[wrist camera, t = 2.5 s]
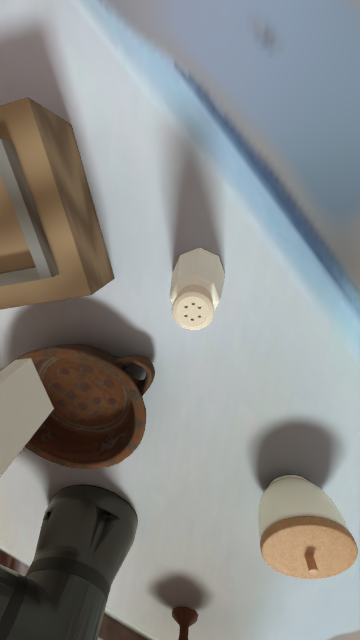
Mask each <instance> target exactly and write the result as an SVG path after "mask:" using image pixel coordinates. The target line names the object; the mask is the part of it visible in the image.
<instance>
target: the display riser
mask: <svg viewBox="0 0 360 640" xmlns="http://www.w3.org/2000/svg"><path fill="white" fill-rule="evenodd" d="M113 279H114V276H113V272H112V268H111V265H110V261H109V258H108V254H107V251H106V247H105V244H104V240H103V236H102V233H101V229H100V226H99V222H98V219H97V215H96V212H95V208H94V204H93V201H92V197H91V194H90V190H89V187H88V183H87V179H86V176H85V172H84V169H83V165H82V162H81V158H80V155H79V151H78V147H77V144H76V140H75V137H74V133H73V130H72V126H71V124H69V123H68V122H66V121H65V120H63V119H61V118H60V117H58V116H57V115H55V114H54V113H52V112H50V111H49V110H47V109H46V108H44V107H42V106H41V105H39V104H38V103H36V102H34V101H33V100H31V99H30V98H25V99H22V100H18V101H15V102H12V103H8V104H5V105H2V106H0V309H6V308H13V307H19V306H25V305H31V304H38V303H44V302H50V301H56V300H63V299H69V298H75V297H82V296H88V295H92V294H93V293H95V292H96V291H98V290H99V289H100V288H102V287H103V286H105V285H106V284H107V283H109V282H110V281H112V280H113Z"/></svg>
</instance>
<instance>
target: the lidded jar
mask: <svg viewBox="0 0 360 640" xmlns="http://www.w3.org/2000/svg"><path fill="white" fill-rule="evenodd" d="M258 526H259V534H260V547H261V553H262V556H263V558H264V560H265V561H266V563H267V564H268V565H269V566H270V567H272V568H273V569H275V570H276V571H278V572H280V573H282V574H285V575H288V576H292V577H296V578H305V579H317V578H325V577H330V576H333V575H336V574H339V573H341V572H343V571H345V570H347V569H348V568H349V567H350V566H351V565H352V564H353V563H354V562H355V560H356V558H357V554H358V549H357V545H356V543H355V540H354V538H353V536H352V535H351V533H350V532H349V530H348V527H347V525H346V523H345V521H344V519H343V517H342V515H341V514H340V512H339V510H338V508H337V507H336V505H335V504H334V502H333V501H332V500H331V498H330V497H329V496H328V495H327V494H326V493H325V492H324V491H323V490H322V489H320V488H319V487H318V486H316V485H315V484H313V483H311V482H309V481H308V480H307V479H305V478H303V477H301V476H297V475H284V476H280V477H277V478H275V479H274V480H273V481H271V483H270V484H269V486H268V488H267V489H266V490H265V492H264V493H263V495H262V497H261V500H260V504H259V511H258Z"/></svg>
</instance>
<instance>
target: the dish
mask: <svg viewBox="0 0 360 640" xmlns="http://www.w3.org/2000/svg"><path fill="white" fill-rule="evenodd" d="M27 358H31V360H32V362H33V364H34V366H35V368H36V371H37V373H38V375H39V377H40V379H41V382H42V384H43V386H44V388H45V390H46V392H47V395H48V397H49V399H50V401H51V403H52V406H53V408H54V409H53V410H52V412H51V413H50V414H49V416H48V417H47V418H46V419H45V421H44V422H43V423H42V425H41V426H40V427H39V428H38V430H37V431H36V432H35V433H34V435H33V436H32V437H31V439H30V440H29V441H28V442H27V444H26V445H25V447H26V448H27V449H29V450H30V451H32V452H34V453H35V454H37V455H39V456H41V457H43V458H45V459H47V460H49V461H52V462H54V463H57V464H60V465H62V466H67V467H73V468H80V469H95V468H104V467H110V466H112V465H115V464H118V463H120V462H121V461H123V460H124V459H125V458H127V457H128V456H130V455H131V454H132V453H133V451H134V450H135V449H136V448H137V447H138V445H139V444H140V442H141V440H142V437H143V434H144V431H145V424H146V408H145V405H144V402H143V398H142V396H143V394H144V393H145V392H146V391H147V389H148V388H149V387H150V385H151V383H152V382H153V379H154V376H155V370H154V366H153V364H152V362H151V361H150V360H148V359H147V358H145V357H143V356H140V355H129V356H125V357H120V358H119V357H113V356H111V355H109V354H108V353H106V352H104V351H102V350H100V349H98V348H95V347H91V346H86V345H80V344H69V345H60V346H56V347H52V348H44V349H39V350H35V351H32V352H29V353H26V354H24V355H22V356H20V357H19V358H17V359H16V360H19V359H27ZM10 364H11V363H10ZM132 364H135V365H139V366H141V367H142V368H143V369H144V370H145V372H146V377H145V379H144V380H136V379H135V378H133V376H132V375H131V374H130V372H129V371H128V370H127V367H128V366H129V365H132Z"/></svg>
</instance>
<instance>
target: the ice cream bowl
mask: <svg viewBox="0 0 360 640" xmlns="http://www.w3.org/2000/svg"><path fill="white" fill-rule="evenodd" d="M172 617H173V618H174V619H175V620H176V622H177V623H178V624H179V625H180V635H179V640H188V628H189V626H191V625H192V624H194V623H195V622H196V621H197V618H198V614H197V613H196V612H195V610H192V609H190V608H187V607H178V608H175V609H173V611H172Z"/></svg>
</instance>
